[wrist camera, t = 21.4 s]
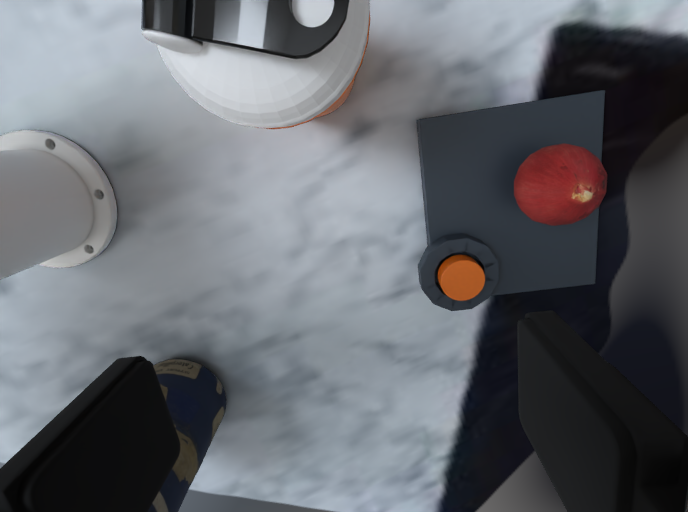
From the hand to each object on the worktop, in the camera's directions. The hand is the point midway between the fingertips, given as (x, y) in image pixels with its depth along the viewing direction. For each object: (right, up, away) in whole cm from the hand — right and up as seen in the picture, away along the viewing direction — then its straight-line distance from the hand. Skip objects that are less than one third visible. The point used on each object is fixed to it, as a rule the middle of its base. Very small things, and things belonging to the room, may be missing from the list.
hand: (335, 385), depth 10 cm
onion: (+16, +10, +22) cm, 29 cm away
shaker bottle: (-2, +18, +22) cm, 29 cm away
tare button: (+10, +2, +23) cm, 26 cm away
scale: (+14, +8, +24) cm, 29 cm away
